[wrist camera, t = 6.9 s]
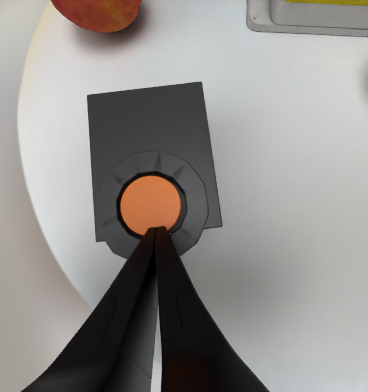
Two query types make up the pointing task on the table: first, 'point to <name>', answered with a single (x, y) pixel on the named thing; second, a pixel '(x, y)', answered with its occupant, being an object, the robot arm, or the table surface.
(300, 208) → the table surface
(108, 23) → the fruit
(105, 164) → the orange push button box
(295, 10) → the emergency button
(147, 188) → the orange push button
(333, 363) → the table surface
